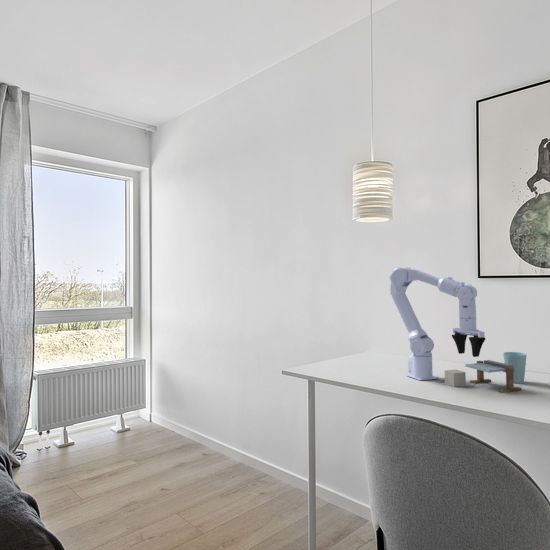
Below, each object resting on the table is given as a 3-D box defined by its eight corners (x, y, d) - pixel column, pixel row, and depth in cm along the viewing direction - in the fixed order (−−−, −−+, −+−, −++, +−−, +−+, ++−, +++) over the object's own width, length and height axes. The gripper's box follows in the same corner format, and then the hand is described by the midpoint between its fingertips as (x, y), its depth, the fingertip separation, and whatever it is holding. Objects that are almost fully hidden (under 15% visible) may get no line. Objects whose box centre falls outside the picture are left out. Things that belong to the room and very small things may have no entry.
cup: (502, 382, 166) (501, 354, 166) (505, 378, 173) (504, 351, 173) (525, 385, 162) (525, 355, 162) (527, 381, 168) (527, 352, 169)
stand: (470, 382, 167) (469, 361, 167) (487, 380, 170) (487, 360, 170) (502, 392, 152) (501, 369, 153) (521, 390, 155) (520, 367, 155)
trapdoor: (465, 368, 165) (465, 362, 165) (489, 366, 168) (489, 360, 168) (488, 375, 153) (488, 367, 153) (514, 372, 156) (513, 365, 156)
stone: (444, 384, 166) (444, 370, 167) (456, 383, 168) (456, 369, 168) (454, 387, 162) (453, 373, 162) (465, 386, 163) (465, 372, 163)
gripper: (491, 318, 161) (492, 357, 161) (463, 316, 175) (464, 351, 175) (474, 319, 159) (475, 358, 159) (447, 316, 173) (448, 352, 173)
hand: (468, 355), depth 166 cm, fingers open, 7 cm apart
